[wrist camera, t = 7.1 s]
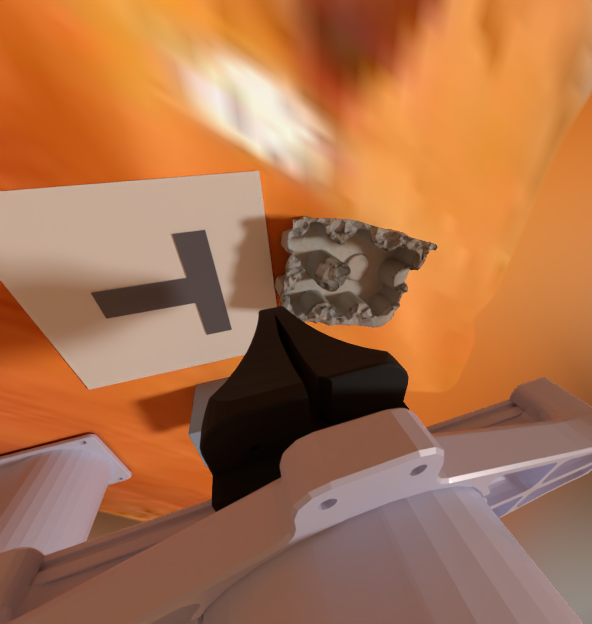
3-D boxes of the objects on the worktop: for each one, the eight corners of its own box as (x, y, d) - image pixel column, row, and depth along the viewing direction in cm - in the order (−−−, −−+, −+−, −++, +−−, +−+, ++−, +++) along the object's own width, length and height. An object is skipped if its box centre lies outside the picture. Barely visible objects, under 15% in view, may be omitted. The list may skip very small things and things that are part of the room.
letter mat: (90, 387, 19) (88, 390, 18) (-64, 196, 11) (-70, 197, 11) (281, 345, 22) (282, 347, 21) (258, 170, 14) (259, 170, 14)
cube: (209, 416, 24) (206, 467, 20) (195, 384, 21) (188, 434, 17) (257, 404, 25) (263, 450, 21) (249, 371, 22) (254, 416, 18)
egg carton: (406, 231, 19) (447, 242, 16) (373, 310, 22) (400, 334, 19) (284, 202, 15) (303, 209, 12) (266, 302, 19) (276, 330, 15)
